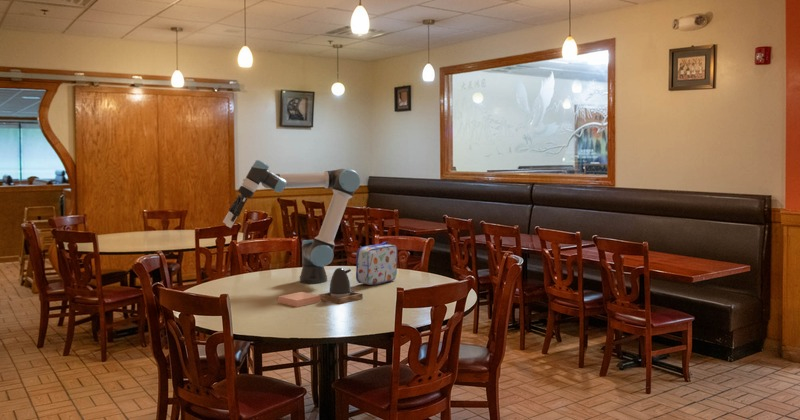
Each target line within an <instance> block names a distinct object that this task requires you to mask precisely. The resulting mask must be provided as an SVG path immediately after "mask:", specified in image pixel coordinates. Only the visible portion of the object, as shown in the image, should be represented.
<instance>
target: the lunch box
mask: <svg viewBox="0 0 800 420" xmlns="http://www.w3.org/2000/svg"><path fill="white" fill-rule="evenodd" d="M355 261H356V262H355V263H356V264H355V265H356V267H355V280H356V282H358V283H359V284H363V285H367V286H368V285H369V286H374V285H380V284H384V283H388V282H391V281H394V280H395V279H396V277H397V274H398V273H397V271H398V270H397V269H398V267H397V265H398V264H397V263H398V247H397V246H396V245H394V244H390V243H389V242H388V241H383V242H382V243H377V244H373V245H372V244H370V245H364V246H361V247H359V248H358V250H357V252H356V259H355Z"/></svg>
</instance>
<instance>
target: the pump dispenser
mask: <svg viewBox="0 0 800 420" xmlns="http://www.w3.org/2000/svg"><path fill="white" fill-rule="evenodd" d="M351 271H352V270H351V269H350V268H349V269H346V270H345V269H344V268H342V267H338V268H336V269H335V270H334V271H333V274H332V276H331V278H330V282H329V289H328V290H329V291H328V292H330V294H331V297H337V298H342V297H347V296H349V295H350V292H352V291H351V290H352V289H351V283H350V279H349V276H348V273H350V272H351Z"/></svg>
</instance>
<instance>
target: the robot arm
mask: <svg viewBox="0 0 800 420" xmlns="http://www.w3.org/2000/svg"><path fill="white" fill-rule="evenodd" d="M269 169H270V166H269V165H268V164H267V163H266V162H264V161H262V160H259V159H257V160H255V162H254V163H253V164H252V166H251V167H250V169H249V171H248V173H247V175H246V177H244V178H243V179H242V183H241V185H240V186H239V188H238V190H237V192H238V193H239V194H238V195H237V197H236V199H235V200H234V202H233V203H232V205H230V207H229V210H228V212H227V214H226V215H225V217H224V218H223V220H222V223H223V224H225V226H226V227H228V228H229V229H232V227H233V226H234V223H235V222H236V220H237V219H238V217H239V216H240V214H241V213H242V210H243V209H244V206H245V204H246V203H247V201H248V199H252V197H253V196H254V192H256V191H257V189H258V187H259V185H260V184H261V185H262V186H263V187H264V188H266V189H270V190H273V191H275V192H277V193H278V194H280V193H282V192H283V191H284V189H286V188H289V189H290V188H317V187H318V188H319V187H320V188H321V187H322V188H323V187H324V189H332V192H333V194H332V197H331V200H330V203H329V206H328V208H327V209H326V210H327V211H326V214H325V216H324V219H323V221H322V223H321V224H322V225H321V227H320V230H319V232H318V235H317V236H315V237H314V238H313V239H304V240H302V243H301V254H302V255H301V256H302V257H301V258H302V269H301V272H300V276H299V282H300V283H303V284H319V283H325V282H327V281H328V275H327V273H326V269H325V267H326V266H328V265H329V264H331V263H332V261H333V260H334V249H335V246H336V244H335V238H336V235H337V233H338V230H339V226H340V224H341V222H342V218H343V216H344V213H345V210H346V208H347V204H348V203H349V200H350V199H352V198H353V197H354V194H355V191H357V190H358V189H359V187H360V185H361V177H360V175H359V173H358V172H357V171H356V170H354V169H350V168H340V169H335V170H325V171H324V172H308V173H307V172H305V173H304V172H302V173H301V172H300V173H296V172H295V173H275V172H273V171H272V170H269Z"/></svg>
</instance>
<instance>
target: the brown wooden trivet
mask: <svg viewBox="0 0 800 420" xmlns="http://www.w3.org/2000/svg"><path fill="white" fill-rule="evenodd" d="M317 295H320V299H321V302H322V301H323V302H329V303H333V304H338V305H341V304H345V303H351V302H355V301H358V300H363V298H364V297H363V295H364V294H363V293H360V292H356V291H351V292H350V295H349V296H347V297H342V298H337V297H331V294H330V292H329V291H328V292H324V293H320V294H317Z"/></svg>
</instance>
